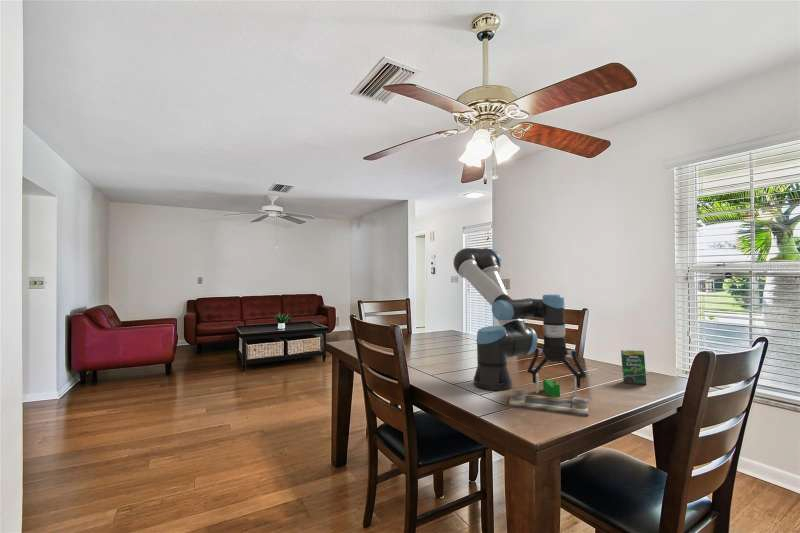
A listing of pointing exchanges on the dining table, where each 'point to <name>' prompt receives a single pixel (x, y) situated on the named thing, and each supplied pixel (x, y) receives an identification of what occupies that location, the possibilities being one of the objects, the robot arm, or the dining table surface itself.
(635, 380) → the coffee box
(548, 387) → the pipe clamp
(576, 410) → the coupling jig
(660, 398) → the dining table surface
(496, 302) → the robot arm
